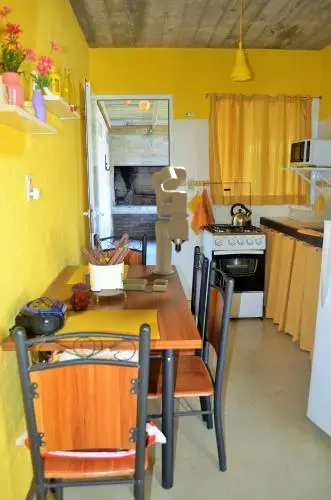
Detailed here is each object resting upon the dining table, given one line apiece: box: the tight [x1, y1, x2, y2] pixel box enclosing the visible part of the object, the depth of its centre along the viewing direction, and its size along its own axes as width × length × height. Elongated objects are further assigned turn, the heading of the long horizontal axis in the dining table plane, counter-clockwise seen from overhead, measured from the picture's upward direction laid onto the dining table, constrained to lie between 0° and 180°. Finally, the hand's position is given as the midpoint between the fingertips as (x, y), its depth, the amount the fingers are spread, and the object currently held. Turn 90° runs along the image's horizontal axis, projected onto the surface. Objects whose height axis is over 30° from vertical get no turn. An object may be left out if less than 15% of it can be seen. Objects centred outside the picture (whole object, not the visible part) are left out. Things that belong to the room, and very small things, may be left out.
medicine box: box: [84, 272, 91, 290], centre depth 208 cm, size 8×4×9 cm, turn 84°
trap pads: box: [143, 281, 155, 294], centre depth 218 cm, size 21×4×1 cm, turn 177°
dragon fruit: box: [69, 291, 92, 312], centre depth 178 cm, size 8×8×12 cm
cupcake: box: [71, 272, 91, 294], centre depth 194 cm, size 9×8×12 cm
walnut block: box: [154, 278, 166, 286], centre depth 217 cm, size 5×5×4 cm
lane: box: [122, 278, 169, 292], centre depth 217 cm, size 12×25×2 cm, turn 87°
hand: (177, 252), depth 214 cm, fingers closed
